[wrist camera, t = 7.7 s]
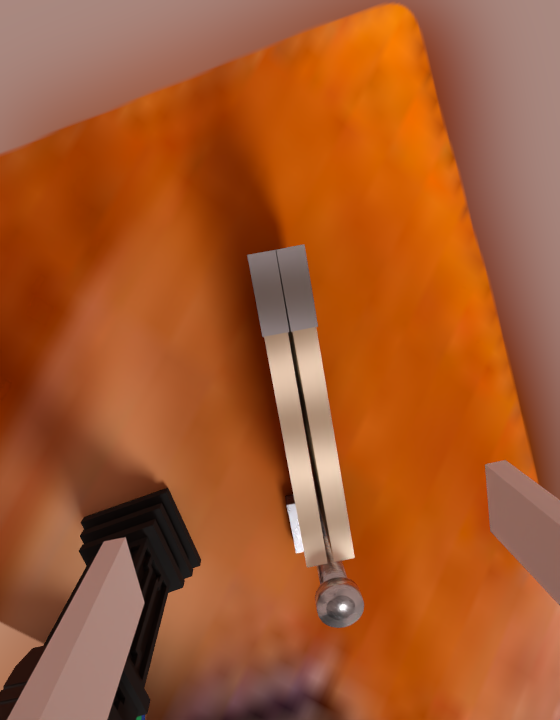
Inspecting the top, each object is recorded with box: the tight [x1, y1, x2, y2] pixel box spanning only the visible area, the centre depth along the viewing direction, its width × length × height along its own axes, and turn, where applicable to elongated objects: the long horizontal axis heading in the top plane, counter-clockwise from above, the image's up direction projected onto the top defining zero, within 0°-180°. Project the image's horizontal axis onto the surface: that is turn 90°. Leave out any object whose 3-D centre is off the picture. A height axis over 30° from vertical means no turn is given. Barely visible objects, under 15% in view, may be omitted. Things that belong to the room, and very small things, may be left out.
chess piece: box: [44, 488, 201, 720], centre depth 29 cm, size 8×8×20 cm
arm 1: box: [276, 245, 355, 562], centre depth 31 cm, size 22×2×7 cm, turn 11°
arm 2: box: [247, 250, 327, 567], centre depth 31 cm, size 22×2×7 cm, turn 10°
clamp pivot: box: [285, 490, 364, 628], centre depth 34 cm, size 5×5×11 cm
